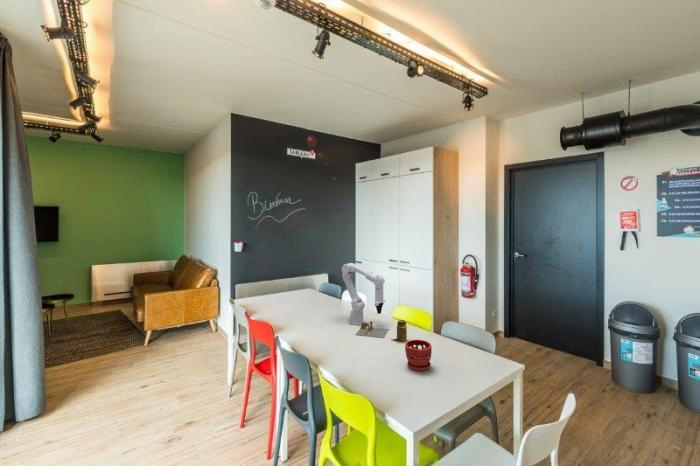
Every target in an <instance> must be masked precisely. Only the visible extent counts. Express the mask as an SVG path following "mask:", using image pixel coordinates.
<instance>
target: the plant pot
mask: <svg viewBox="0 0 700 466" xmlns="http://www.w3.org/2000/svg"><path fill="white" fill-rule="evenodd" d="M404 343H405V344H404V346H405V347H404V349H405V356H406V360H407V366H408V367H409V368H410V369H411V370H413V371H421V372H423V371H427V370H428V369H430V367H431V365H432V364H431V362H430V361H431V358H432V353H433V352H432V351H433V350H432V344H431V343H430V342H429V341H426V340H424V339H411V340H410V339H409V341H407V342H404ZM419 346H421V348H419Z"/></svg>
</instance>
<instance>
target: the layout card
mask: <svg viewBox="0 0 700 466" xmlns="http://www.w3.org/2000/svg"><path fill="white" fill-rule="evenodd" d="M388 332H389V328H382V327H375V326H374V327H373V326H372V330H371V331H370V332H369V333H368V334H365V329H361V327H360V329H359V330H358V331H357V332H356V333H355V336H360V337H370V338H378V339H385V337H386V335H387V334H388Z"/></svg>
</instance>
